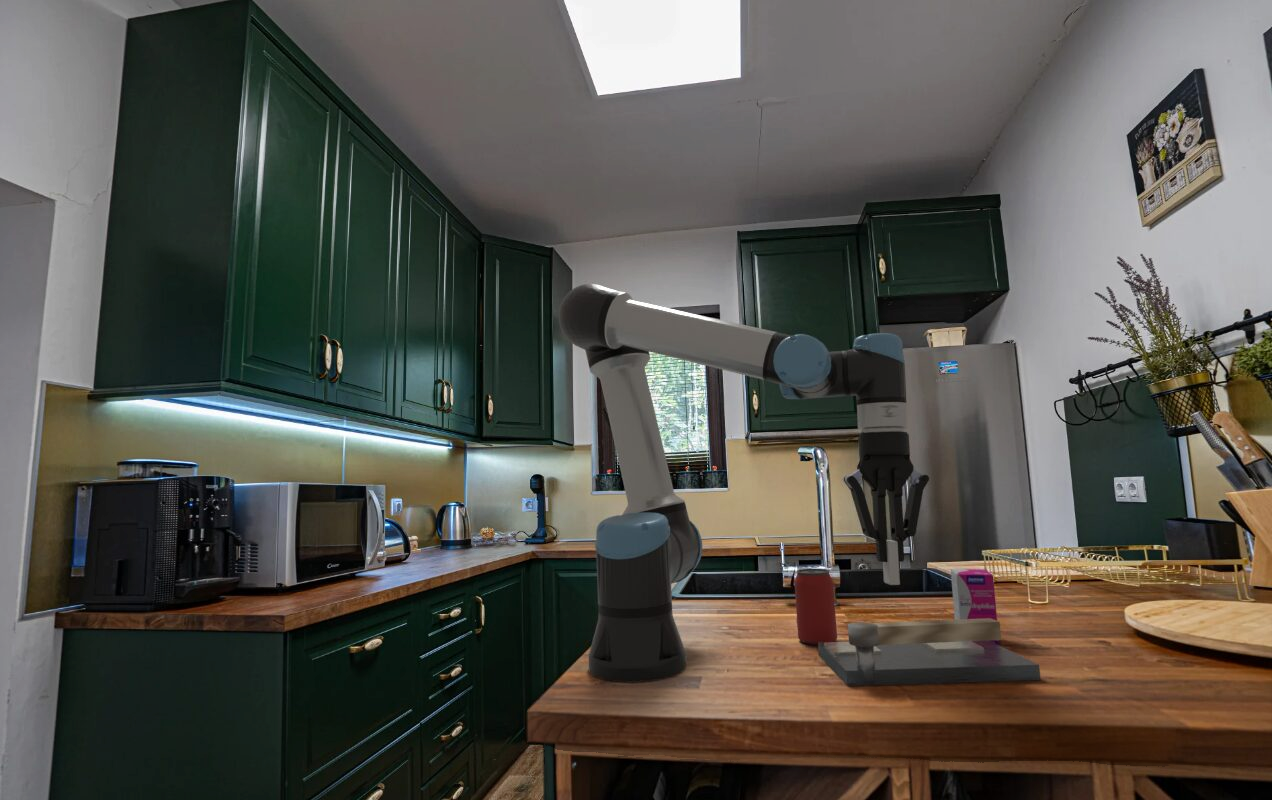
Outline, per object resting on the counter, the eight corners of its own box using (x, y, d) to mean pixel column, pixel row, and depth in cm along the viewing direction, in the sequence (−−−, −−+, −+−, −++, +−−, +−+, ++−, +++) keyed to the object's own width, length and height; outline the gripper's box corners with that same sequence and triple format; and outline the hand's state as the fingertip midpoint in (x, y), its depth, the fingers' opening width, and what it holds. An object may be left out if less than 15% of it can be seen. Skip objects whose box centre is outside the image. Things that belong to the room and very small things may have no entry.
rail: (854, 647, 90) (853, 629, 90) (845, 640, 94) (843, 623, 94) (1004, 641, 90) (1002, 623, 90) (989, 634, 94) (987, 617, 94)
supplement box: (961, 644, 109) (955, 573, 111) (955, 635, 115) (949, 568, 116) (1000, 645, 108) (993, 573, 109) (992, 636, 113) (985, 568, 115)
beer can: (790, 640, 117) (786, 570, 118) (820, 635, 119) (815, 567, 121) (815, 648, 111) (810, 574, 112) (845, 642, 114) (840, 570, 115)
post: (861, 686, 90) (858, 648, 91) (855, 680, 92) (853, 643, 93) (878, 685, 90) (875, 647, 91) (873, 680, 92) (870, 643, 93)
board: (847, 686, 90) (846, 667, 91) (818, 655, 106) (817, 639, 106) (1040, 680, 90) (1038, 661, 90) (982, 649, 106) (981, 634, 106)
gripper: (849, 430, 102) (857, 588, 99) (934, 429, 101) (944, 586, 99) (835, 433, 109) (842, 580, 107) (914, 432, 109) (924, 579, 106)
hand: (891, 583), depth 103 cm, fingers closed
